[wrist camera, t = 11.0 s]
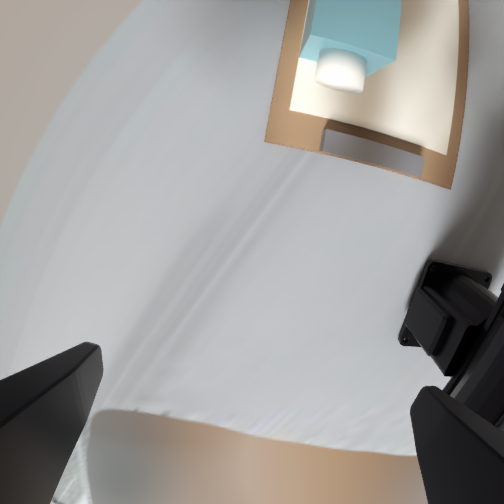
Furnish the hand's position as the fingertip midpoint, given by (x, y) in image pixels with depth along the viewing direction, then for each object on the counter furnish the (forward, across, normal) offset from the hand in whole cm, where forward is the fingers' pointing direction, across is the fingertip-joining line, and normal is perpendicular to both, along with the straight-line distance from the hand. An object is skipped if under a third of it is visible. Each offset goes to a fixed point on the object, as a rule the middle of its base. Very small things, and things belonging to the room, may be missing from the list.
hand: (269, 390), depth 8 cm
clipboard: (+12, -5, -14) cm, 19 cm away
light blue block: (+11, -2, -14) cm, 19 cm away
